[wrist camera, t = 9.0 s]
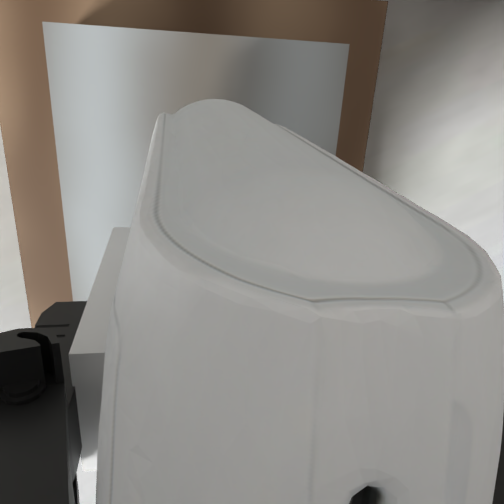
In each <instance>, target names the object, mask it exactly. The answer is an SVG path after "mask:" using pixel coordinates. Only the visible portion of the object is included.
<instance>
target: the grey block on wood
mask: <svg viewBox="0 0 504 504" xmlns="http://www.w3.org/2000/svg"><path fill="white" fill-rule="evenodd" d="M387 5H388V1H379V0H0V126H1V132H2V139H3V145H4V152H5V158H6V164H7V171H8V177H9V184H10V190H11V197H12V203H13V210H14V216H15V223H16V229H17V236H18V242H19V249H20V255H21V262H22V268H23V274H24V281H25V287H26V294H27V300H28V307H29V313H30V320H31V326H32V328H35V324H36V322H37V321H38V319H39V317H40V315H41V313H42V312H43V311H45V310H46V309H47V308H49V307H50V306H51V305H53V304H54V303H55V302H70V301H88V298H89V295H90V292H91V289H92V287H93V284H94V281H95V278H96V275H97V272H98V270H99V267H100V264H101V261H102V258H103V255H104V253H105V250H106V247H107V244H108V241H109V239H110V236H111V233H112V230H113V227H131V224H132V220H133V216H134V212H135V208H136V204H137V200H138V196H139V191H140V187H141V183H142V178H143V174H144V170H145V165H146V161H147V156H148V152H149V148H150V143H151V138H152V135H153V131H154V128H155V124H156V121H157V118H158V116H159V115H160V114H161V113H167V114H175V113H176V112H177V111H179V110H180V109H181V108H183V107H185V106H187V105H189V104H191V103H194V102H197V101H200V100H206V99H224V100H228V101H233V102H236V103H238V104H241V105H243V106H245V107H247V108H248V109H250V110H252V111H253V112H255V113H257V114H258V115H260V116H262V117H263V118H265V119H267V120H268V121H270V122H271V123H273V124H278V125H281V126H283V127H286V128H287V129H289V130H291V131H293V132H294V133H296V134H298V135H300V136H302V137H303V138H305V139H307V140H308V141H310V142H312V143H313V144H315V145H317V146H319V147H320V148H322V149H324V150H326V151H327V152H329V153H331V154H333V155H335V156H336V157H338V158H339V159H341V160H342V161H344V162H346V163H347V164H349V165H351V166H353V167H354V168H356V169H357V170H359V171H361V172H363V165H364V158H365V152H366V145H367V139H368V132H369V125H370V119H371V112H372V105H373V99H374V92H375V85H376V79H377V72H378V65H379V59H380V52H381V45H382V39H383V32H384V25H385V19H386V12H387Z"/></svg>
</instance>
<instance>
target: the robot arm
mask: <svg viewBox="0 0 504 504" xmlns="http://www.w3.org/2000/svg"><path fill="white" fill-rule="evenodd" d="M130 228H131V227H113V230H112V233H111V236H110V239H109V241H108V244H107V247H106V250H105V253H104V255H103V258H102V261H101V264H100V267H99V270H98V272H97V275H96V278H95V281H94V284H93V287H92V289H91V292H90V295H89V298H88V301H70V302H55V303H54V304H53V305H51V306H50V307H49V308H47V309H46V310H45V311H43V312H42V313H41V315H40V317H39V319H38V321H37V322H36V324H35V328H24V329H15V330H11V331H7V332H2V333H0V504H79V490H78V483H77V475H76V471H77V467H78V463H79V458H80V454H81V462H82V470H83V472H88V471H97V452H98V433H99V421H100V411H101V401H102V387H103V373H104V359H105V346H106V339H107V331H108V324H109V317H110V311H111V306H112V302H113V298H114V293H115V289H116V285H117V281H118V277H119V274H120V270H121V266H122V262H123V257H124V253H125V249H126V245H127V241H128V237H129V233H130ZM492 504H504V414H503V428H502V440H501V450H500V457H499V463H498V470H497V476H496V483H495V489H494V496H493V502H492Z"/></svg>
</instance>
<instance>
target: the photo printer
mask: <svg viewBox="0 0 504 504" xmlns="http://www.w3.org/2000/svg"><path fill="white" fill-rule="evenodd" d="M503 414H504V303H503V291H502V282H501V275H500V274H499V272H498V270H497V268H496V266H495V264H494V263H493V261H492V260H491V258H490V257H489V255H488V254H487V252H486V251H485V250H484V249H483V248H482V247H480V246H479V245H478V244H477V243H476V242H475V241H474V240H472V239H471V238H470V237H469V236H468V235H466V234H464V233H463V232H461V231H460V230H458V229H456V228H455V227H453V226H452V225H450V224H448V223H447V222H445V221H444V220H442V219H440V218H439V217H437V216H435V215H434V214H432V213H430V212H428V211H427V210H425V209H423V208H421V207H420V206H418V205H416V204H415V203H413V202H412V201H410V200H409V199H407V198H406V197H404V196H402V195H400V194H398V193H396V192H394V191H393V190H391V189H390V188H388V187H387V186H385V185H383V184H382V183H380V182H378V181H377V180H375V179H373V178H372V177H370V176H368V175H366V174H364V173H362V172H361V171H359V170H357V169H356V168H354V167H353V166H351V165H349V164H347V163H346V162H344V161H342V160H341V159H339V158H338V157H336V156H335V155H333V154H331V153H329V152H327V151H326V150H324V149H322V148H320V147H319V146H317V145H315V144H313V143H312V142H310V141H308V140H307V139H305V138H303V137H302V136H300V135H298V134H296V133H294V132H293V131H291V130H289V129H287V128H286V127H283V126H281V125H278V124H273V123H271V122H270V121H268V120H267V119H265V118H263V117H262V116H260V115H258V114H257V113H255V112H253V111H252V110H250V109H248V108H247V107H245V106H243V105H241V104H238V103H236V102H233V101H228V100H224V99H206V100H200V101H197V102H194V103H191V104H189V105H187V106H185V107H183V108H181V109H180V110H179V111H177V112H176V113H175V114H167V113H161V114H160V115H159V116H158V118H157V121H156V124H155V128H154V131H153V135H152V138H151V143H150V148H149V152H148V156H147V161H146V165H145V170H144V174H143V178H142V183H141V187H140V191H139V196H138V200H137V204H136V208H135V212H134V216H133V220H132V224H131V228H130V233H129V237H128V241H127V245H126V249H125V253H124V257H123V262H122V266H121V270H120V274H119V277H118V281H117V285H116V289H115V293H114V298H113V302H112V306H111V311H110V317H109V324H108V331H107V339H106V346H105V359H104V373H103V387H102V401H101V411H100V421H99V433H98V452H97V483H96V504H492V502H493V496H494V489H495V483H496V476H497V470H498V463H499V457H500V450H501V440H502V428H503Z"/></svg>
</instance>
